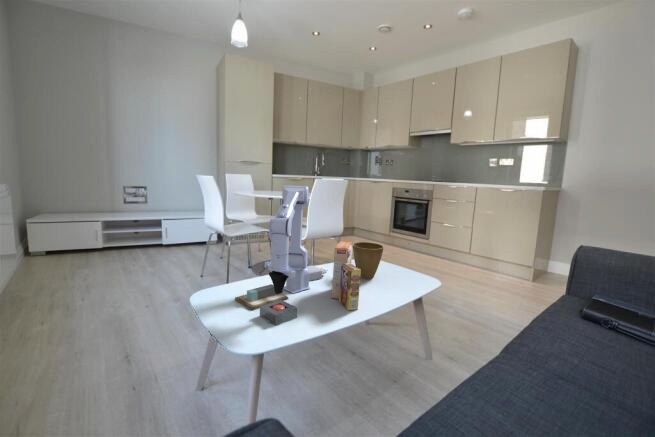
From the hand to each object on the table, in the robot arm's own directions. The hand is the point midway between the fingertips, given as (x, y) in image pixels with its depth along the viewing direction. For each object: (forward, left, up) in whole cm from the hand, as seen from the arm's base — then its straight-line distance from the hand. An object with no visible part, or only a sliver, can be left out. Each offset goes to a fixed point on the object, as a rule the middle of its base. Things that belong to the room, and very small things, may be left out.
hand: (278, 292), depth 105 cm
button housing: (0, 0, -8) cm, 8 cm away
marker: (-4, -16, -7) cm, 18 cm away
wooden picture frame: (-4, -16, -8) cm, 18 cm away
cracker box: (-33, -1, -9) cm, 34 cm away
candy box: (-26, +9, -9) cm, 29 cm away
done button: (0, 0, -7) cm, 7 cm away
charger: (-39, -24, -9) cm, 46 cm away
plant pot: (-59, -8, -9) cm, 60 cm away
